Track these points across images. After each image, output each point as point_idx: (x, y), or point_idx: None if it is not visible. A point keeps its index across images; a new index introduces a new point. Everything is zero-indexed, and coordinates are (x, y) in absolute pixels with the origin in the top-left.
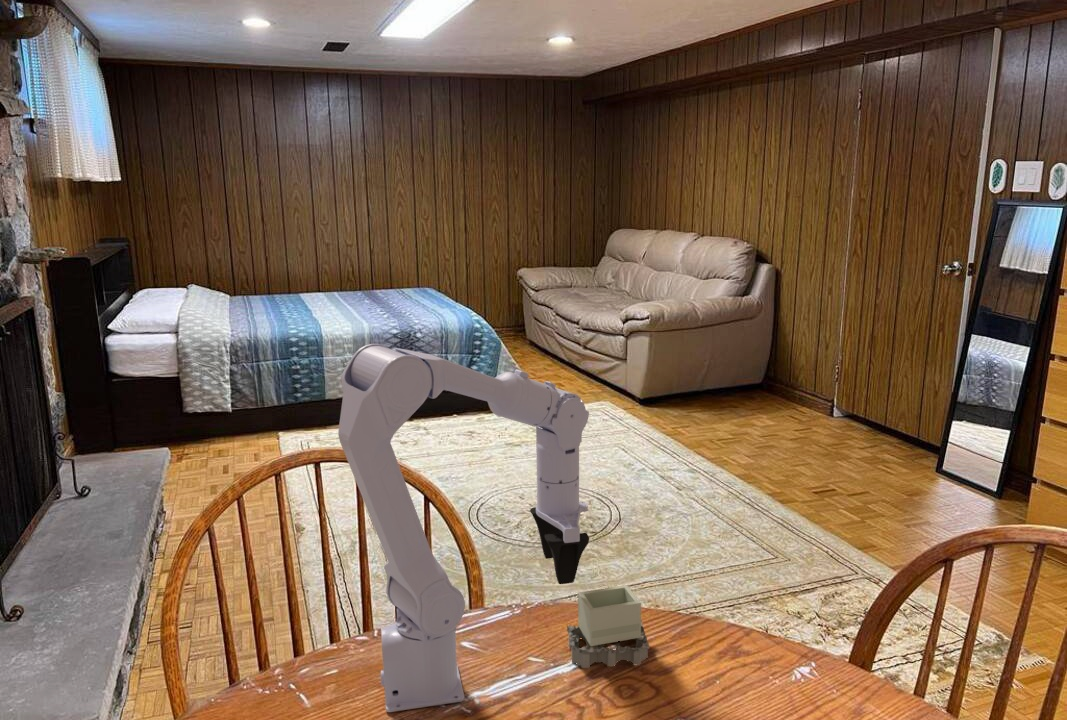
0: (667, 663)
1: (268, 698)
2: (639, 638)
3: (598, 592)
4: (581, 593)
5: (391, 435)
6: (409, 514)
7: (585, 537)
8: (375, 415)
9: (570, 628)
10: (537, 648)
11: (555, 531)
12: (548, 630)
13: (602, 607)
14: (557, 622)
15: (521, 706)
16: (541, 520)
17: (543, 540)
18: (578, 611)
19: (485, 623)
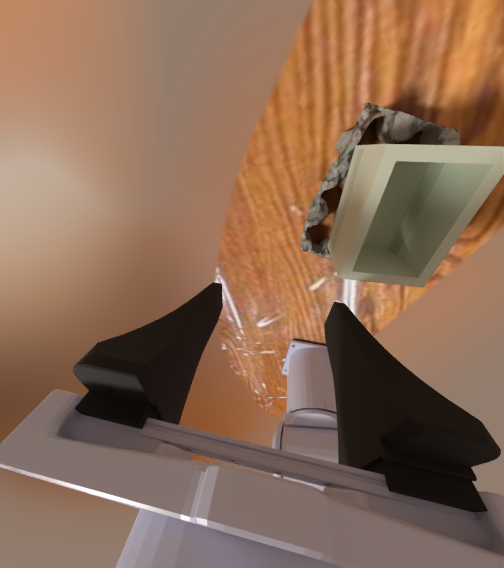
0: (469, 89)
1: (277, 404)
2: (402, 135)
3: (363, 239)
4: (346, 274)
5: None
6: None
7: (472, 448)
8: None
9: (306, 245)
10: (298, 276)
11: (193, 337)
12: (267, 252)
13: (432, 260)
14: (253, 235)
15: (383, 320)
16: (182, 397)
17: (206, 341)
18: (332, 258)
19: (232, 302)
